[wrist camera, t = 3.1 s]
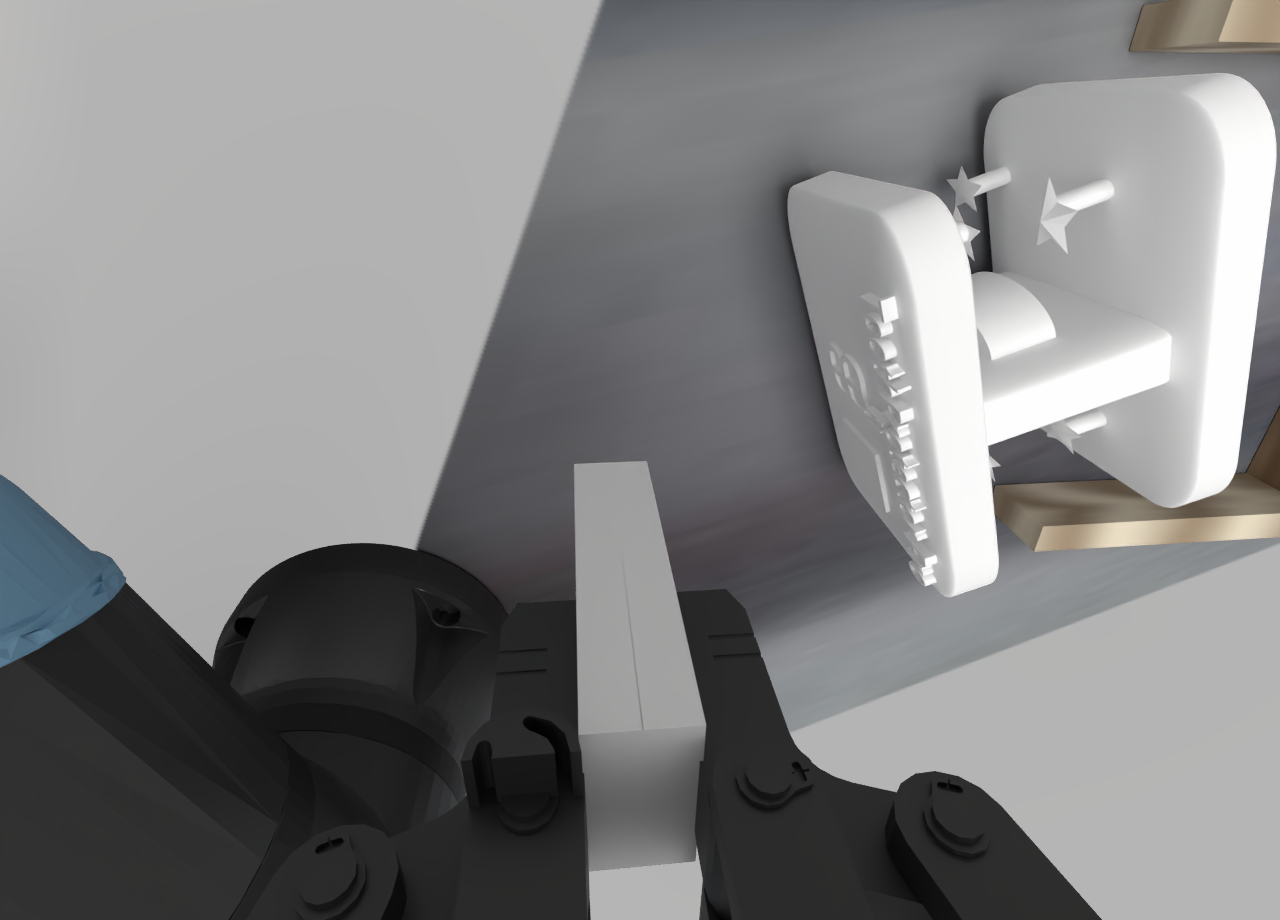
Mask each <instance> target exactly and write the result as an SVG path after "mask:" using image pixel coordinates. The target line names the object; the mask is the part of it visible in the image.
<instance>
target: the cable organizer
mask: <svg viewBox="0 0 1280 920" xmlns="http://www.w3.org/2000/svg"><path fill="white" fill-rule="evenodd" d="M984 165H985V173H984V174H981V175H979V176H976V177H973V178H971V179H968V178H967V176H966V174H965V172H964V169H963V167H962V166H961V169H960V173H959V176H958V179H946V180H947V181H948V183H949V184H950V185H951V186H952V188H953V189H954V190H955V192H956V199H955V210H954V214H953V216H952V214H951V213H950V211H949V210H948V208H947V206H946V205H945V204H944V203H943V202H942V200H941V199H940V198H939V197H937V196H936V195H935V194H934V193H931V192H929V191H925V190H920V189H915V188H911V187H906V186H901V185H897V184H892V183H887V182H883V181H878V180H873V179H869V178H864V177H859V176H855V175H850V174H845V173H841V172H836V171H829V172H826V173H824V174H821V175H819V176H816V177H814V178H811V179H809V180H806V181H803V182H801V183H798V184H796V185H793V186H792V187H791V188H790V191H789V194H788V221H789V229H790V234H791V239H792V244H793V248H794V253H795V257H796V261H797V266H798V270H799V275H800V279H801V283H802V288H803V292H804V296H805V301H806V305H807V309H808V314H809V318H810V323H811V327H812V331H813V336H814V340H815V344H816V349H817V353H818V357H819V362H820V366H821V370H822V375H823V379H824V384H825V388H826V392H827V397H828V401H829V405H830V410H831V414H832V418H833V423H834V427H835V431H836V436H837V440H838V444H839V448H840V451H841V454H842V457H843V460H844V463H845V465H846V468H847V470H848V473H849V475H850V477H851V479H852V481H853V482H854V484H855V486H856V487H857V489H858V490H859V491H860V493H861V494H862V495H863V496H864V498H865V499H866V500H867V502H868V503H869V504H870V505H871V507H872V508H873V509H874V511H875V512H876V513H877V514H878V516H879V517H880V518H881V520H882V521H883V522H884V523H885V525H886V526H887V527H888V528H889V530H890V531H891V532H892V534H893V535H894V536H895V537H896V539H897V540H898V541H899V543H900V544H901V545H902V546H903V548H904V549H905V550H906V552H907V553H908V554H909V555H910V557H911V558H912V559H913V561H910V562H909V566H910V568H911V570H912V572H913V574H914V575H915V577H916V578H917V580H918V581H919V582H920V583H921V584H922V585H923V586H927V585H930V584H932V585H933V586H934V587H935V588H936V590H937V591H938V592H939V593H941V594H942V595H943V596H945V597H953V596H956V595H959V594H962V593H965V592H967V591H970V590H973V589H976V588H979V587H982V586H985V585H988V584H991V583H993V581H994V580H995V579H996V576H997V573H998V566H999V556H998V545H997V534H996V524H995V514H994V503H993V493H992V483H991V477H992V478H993V480H994V481H995V479H994V475H993V470H992V467H997V466H1000V465H999V464H998V463H997V462H996V461H995V460H994V459H993V458H992V457H991V456H990V455H989V451H988V446H989V445H992V444H995V443H998V442H1000V441H1003V440H1006V439H1009V438H1012V437H1015V436H1017V435H1020V434H1023V433H1026V432H1029V431H1032V430H1034V429H1037V428H1041V429H1042V430H1044V431H1045V432H1047V437H1052V438H1056V439H1057V440H1059V441H1060V442H1062V443H1063V444H1065V445H1066V447H1067V448H1068V449H1069V450H1070V451H1071V452H1072V453H1073V450H1074V451H1075V452H1077V453H1078V454H1080V455H1082V456H1083V457H1085V458H1086V459H1088V460H1089V461H1091V462H1092V463H1094V464H1095V465H1097V466H1098V467H1100V468H1101V469H1103V470H1104V471H1106V472H1107V473H1109V474H1110V475H1112V476H1113V477H1115V478H1116V479H1118V480H1119V481H1121V482H1122V483H1124V484H1125V485H1127V486H1128V487H1130V488H1131V489H1133V490H1134V491H1136V492H1137V493H1139V494H1140V495H1142V496H1143V497H1145V498H1147V499H1148V500H1150V501H1151V502H1153V503H1155V504H1157V505H1159V506H1162V507H1167V508H1176V507H1179V506H1182V505H1185V504H1188V503H1191V502H1194V501H1197V500H1200V499H1203V498H1206V497H1209V496H1212V495H1215V494H1218V493H1219V492H1221V491H1222V490H1224V489H1225V488H1226V487H1227V486H1228V485H1229V483H1230V482H1231V480H1232V478H1233V477H1234V474H1235V471H1236V468H1237V463H1238V455H1239V448H1240V440H1241V432H1242V424H1243V416H1244V409H1245V401H1246V393H1247V385H1248V378H1249V370H1250V362H1251V354H1252V346H1253V339H1254V331H1255V323H1256V315H1257V307H1258V300H1259V292H1260V284H1261V276H1262V269H1263V261H1264V253H1265V245H1266V237H1267V230H1268V222H1269V214H1270V206H1271V199H1272V191H1273V183H1274V175H1275V167H1276V137H1275V130H1274V125H1273V122H1272V118H1271V115H1270V112H1269V110H1268V108H1267V106H1266V103H1265V101H1264V100H1263V98H1262V97H1261V95H1260V94H1259V92H1258V91H1257V90H1256V89H1255V88H1254V87H1253V86H1252V85H1251V84H1250V83H1249V82H1248V81H1246V80H1244V79H1243V78H1241V77H1239V76H1235V75H1232V74H1228V73H1211V74H1195V75H1179V76H1162V77H1146V78H1130V79H1114V80H1097V81H1081V82H1065V83H1049V84H1039V85H1036V86H1033V87H1031V88H1028V89H1025V90H1023V91H1020V92H1018V93H1015V94H1013V95H1010V96H1008V97H1005V98H1003V99H1001V100H1000V101H999V102H998V103H997V104H996V105H995V106H994V108H993V109H992V111H991V113H990V116H989V118H988V122H987V125H986V130H985V136H984ZM985 192H987V203H988V216H989V228H990V241H991V253H992V266H993V272H977V273H974V274H971V271H970V265H969V261H968V257H967V254H968V255H969V256H970V257H971V258H972V259H973V260H974V256H973V251H972V247H971V242H970V241H971V240H972V239H973V238H974V237H975V236H976V235H977V234H978V233H979V232H980V231H979V230H977V229H974V228H972V227H970V226H968V225H966V224H964V222H963V219H962V217H961V215H960V212H959V210H958V208H957V206H958V205H960V204H962V203H964V202H966V203H967V204H968V205H969V206H970V207H972V208H973V209H974V210H975V211H976V212H977V210H976V205H975V201H974V196H977V195H980V194H982V193H985ZM974 261H975V260H974ZM1073 454H1074V453H1073Z"/></svg>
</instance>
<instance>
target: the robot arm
mask: <svg viewBox="0 0 1280 920" xmlns="http://www.w3.org/2000/svg"><path fill="white" fill-rule="evenodd" d="M574 493H575V554H576V600H568V601H551V602H534V603H517V605H516V606H515V608H514V609H513V611H512V612H511V614H510V615H509V617H508V616H507V615H506V613H505V611H504V610H503V608H502V607H501V605H500V604H499V602H498V601H497V600H496V599H495V597H494V596H493V595H492V594H491V593H490V592H489V591H488V590H487V589H486V588H485V587H484V586H483V585H482V584H480V583H479V582H478V581H477V580H475V579H474V578H473V577H471V576H470V575H469V574H467V573H466V572H464V571H463V570H461V569H459V568H457V567H456V566H454V565H452V564H450V563H448V562H446V561H444V560H442V559H439V558H437V557H434V556H432V555H429V554H426V553H423V552H420V551H416V550H412V549H408V548H403V547H399V546H392V545H385V544H372V543H353V544H340V545H333V546H327V547H322V548H318V549H314V550H311V551H307V552H304V553H301V554H299V555H296V556H294V557H291V558H289V559H287V560H285V561H283V562H281V563H279V564H278V565H276V566H275V567H273V568H271V569H270V570H269V571H267V572H266V573H265V574H263V575H262V576H261V577H260V578H259V579H258V580H257V581H256V582H255V583H254V584H253V585H252V586H251V587H250V588H249V590H248V591H247V593H246V594H245V595H244V597H243V598H242V600H241V601H240V603H239V604H238V606H237V607H236V609H235V610H234V612H233V613H232V615H231V616H230V618H229V619H228V621H227V623H226V624H225V626H224V628H223V631H222V633H221V635H220V637H219V640H218V643H217V646H216V650H215V654H214V660H213V666H212V667H211V666H210V665H209V664H208V663H207V662H206V661H205V660H204V659H203V658H202V657H201V656H200V655H199V654H198V653H197V652H196V651H195V650H194V649H193V648H192V647H191V646H190V645H189V644H188V643H187V642H186V641H185V640H184V639H183V638H181V636H180V635H179V634H177V632H175V630H173V629H172V628H171V627H170V626H169V625H168V624H167V623H166V622H165V621H164V620H163V619H162V618H161V617H160V616H159V615H158V614H157V613H156V612H155V611H154V610H153V609H152V608H151V607H150V606H149V605H148V604H147V603H146V602H145V601H144V600H143V599H142V598H141V597H140V596H139V595H138V594H137V593H136V592H135V591H134V590H133V589H132V588H131V587H130V586H129V585H128V584H127V583H126V578H125V577H124V576H123V573H122V571H121V570H120V569H119V567H118V566H117V565H116V563H115V562H114V561H113V559H112V558H111V557H109V556H107V555H105V554H102V553H100V552H97V551H91V550H89V549H88V548H87V547H86V546H85V545H84V544H83V543H81V542H80V541H79V540H78V539H77V538H76V537H75V536H73V535H72V534H71V533H70V532H69V531H68V530H67V529H66V528H64V527H63V526H62V525H61V524H60V523H59V522H58V521H57V520H55V519H54V518H53V517H52V516H51V515H50V514H48V513H47V512H46V511H45V510H44V509H43V508H42V507H41V506H39V505H38V504H37V503H36V502H35V501H34V500H33V499H32V498H30V497H29V496H28V495H27V494H26V493H25V492H24V491H22V490H21V489H20V488H19V487H18V486H16V485H15V484H14V483H12V482H11V481H9V480H8V479H6V478H5V477H3V476H2V475H0V920H591V919H590V901H589V900H590V899H589V871H599V870H609V869H620V868H630V867H641V866H651V865H661V864H672V863H682V862H692V861H695V859H696V847H697V848H698V854H699V860H700V866H701V871H702V877H703V884H702V895H701V907H700V918H699V920H1102V919H1101V918H1100V917H1099V916H1098V915H1097V914H1096V912H1095V911H1094V910H1093V909H1092V908H1091V907H1090V906H1089V905H1088V903H1086V901H1085V900H1084V899H1083V898H1082V897H1081V896H1080V894H1079V893H1078V892H1077V891H1076V890H1075V889H1074V888H1073V887H1072V886H1071V884H1070V883H1069V882H1068V881H1067V880H1066V879H1065V878H1064V876H1063V875H1062V874H1061V873H1060V872H1059V871H1058V870H1057V868H1056V867H1055V866H1054V865H1053V864H1052V863H1051V862H1050V861H1049V859H1048V858H1047V857H1046V856H1045V855H1044V854H1043V853H1042V852H1041V851H1040V850H1039V848H1038V847H1037V846H1036V845H1035V844H1034V843H1033V841H1032V840H1031V839H1030V838H1029V837H1028V836H1027V835H1026V834H1025V832H1024V831H1023V830H1022V829H1021V828H1020V827H1019V826H1018V825H1017V824H1016V823H1015V821H1014V820H1013V819H1012V818H1011V817H1010V816H1009V814H1008V813H1007V812H1006V811H1005V810H1004V809H1003V808H1002V806H1000V805H999V804H998V803H997V802H996V801H995V800H994V799H993V798H991V797H990V796H989V795H988V794H987V793H986V792H985V791H984V790H982V789H981V788H979V787H978V786H976V785H974V784H972V783H970V782H968V781H966V780H964V779H962V778H960V777H959V776H954V775H950V774H946V773H940V772H936V771H933V772H926V773H918V774H914V775H913V776H911V777H910V778H908V779H907V780H905V781H904V782H902V783H901V784H900V787H899V789H898V791H897V792H892V791H888V790H883V789H878V788H873V787H869V786H865V785H861V784H856V783H852V782H849V781H846V780H843V779H839V778H836V777H834V776H832V775H830V774H828V773H827V772H825V771H823V770H821V769H819V768H818V767H817V766H816V765H814V764H813V763H812V762H811V760H810V759H809V758H808V757H807V756H806V755H804V754H803V753H802V752H801V751H800V750H799V749H798V748H797V746H796V745H795V743H794V741H793V739H792V737H791V735H790V733H789V731H788V728H787V725H786V722H785V720H784V717H783V714H782V711H781V708H780V706H779V703H778V700H777V697H776V694H775V692H774V689H773V686H772V683H771V680H770V677H769V675H768V672H767V669H766V666H765V663H764V661H763V658H761V652H760V649H759V647H758V644H757V641H756V638H755V637H754V633H753V630H752V627H751V624H750V621H749V618H748V616H747V613H746V610H745V608H744V607H743V606H742V605H741V604H740V603H739V602H738V601H737V600H736V599H735V598H734V597H733V596H732V595H731V594H730V593H729V592H728V591H727V590H726V589H721V590H704V591H687V592H676V589H675V584H674V580H673V575H672V571H671V566H670V562H669V557H668V553H667V549H666V544H665V540H664V535H663V531H662V526H661V522H660V517H659V513H658V509H657V504H656V500H655V495H654V491H653V486H652V482H651V477H650V473H649V469H648V464H647V461H635V462H611V463H586V464H574ZM466 794H467V795H466Z"/></svg>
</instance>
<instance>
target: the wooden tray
mask: <svg viewBox="0 0 1280 920" xmlns="http://www.w3.org/2000/svg"><path fill="white" fill-rule="evenodd" d="M1129 51H1138V52H1196V53H1253V54H1280V0H1170V1H1165V2H1160V3H1154V4H1149V5H1144V6H1143V8H1142V11H1141V14H1140V18H1139V21H1138V24H1137V27H1136V31H1135V34H1134V37H1133V40H1132V44H1131V47H1130V50H1129ZM993 503H994V514H995V515H996V516H997V517H998V518H999V519H1000V520H1001V521H1002V522H1003V523H1004V524H1005V525H1006V526H1007V527H1008V528H1010V529H1011V530H1012V531H1013V532H1014V533H1015V534H1016V535H1017V536H1018V537H1019V538H1020V539H1021V540H1022V541H1023V542H1025V543H1026V544H1027V545H1028V546H1029V547H1030V548H1031V549H1032V550H1033V551H1034V552H1035V551H1051V550H1068V549H1085V548H1102V547H1119V546H1136V545H1153V544H1169V543H1186V542H1203V541H1220V540H1237V539H1254V538H1271V537H1280V408H1279V410H1278V412H1277V414H1276V416H1275V418H1274V419H1273V421H1272V423H1271V425H1270V427H1269V429H1268V431H1267V433H1266V435H1265V437H1264V439H1263V441H1262V443H1261V445H1260V447H1259V449H1258V451H1257V453H1256V454H1255V456H1254V458H1253V460H1252V462H1251V464H1250V466H1249V468H1248V470H1247V472H1246V473H1237V474H1234V477H1233V478H1232V480H1231V482H1230V483H1229V485H1228V486H1227V487H1226V488H1225V489H1224V490H1222V491H1221V492H1219V493H1218V494H1215V495H1212V496H1209V497H1206V498H1203V499H1200V500H1197V501H1194V502H1191V503H1188V504H1185V505H1182V506H1179V507H1176V508H1167V507H1162V506H1159V505H1157V504H1155V503H1153V502H1151V501H1150V500H1148V499H1147V498H1145V497H1143V496H1142V495H1140V494H1139V493H1137V492H1136V491H1134V490H1133V489H1131V488H1130V487H1128V486H1127V485H1125V484H1124V483H1122V482H1121V481H1119V480H1118V479H1115V480H1094V481H1074V482H1053V483H1033V484H1013V485H995V488H994V492H993Z"/></svg>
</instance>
